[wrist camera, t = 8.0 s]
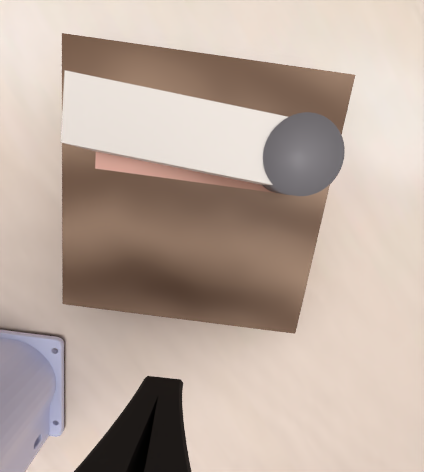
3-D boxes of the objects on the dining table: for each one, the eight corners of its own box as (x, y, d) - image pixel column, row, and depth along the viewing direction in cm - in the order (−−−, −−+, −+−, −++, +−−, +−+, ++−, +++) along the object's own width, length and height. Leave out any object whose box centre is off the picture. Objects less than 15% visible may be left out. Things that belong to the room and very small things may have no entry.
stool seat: (286, 317, 18) (295, 334, 16) (79, 291, 18) (62, 304, 16) (337, 88, 15) (355, 74, 13) (82, 52, 15) (61, 32, 13)
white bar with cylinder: (323, 135, 14) (355, 121, 10) (305, 198, 14) (330, 203, 11) (98, 89, 13) (61, 60, 10) (92, 156, 14) (57, 148, 11)
